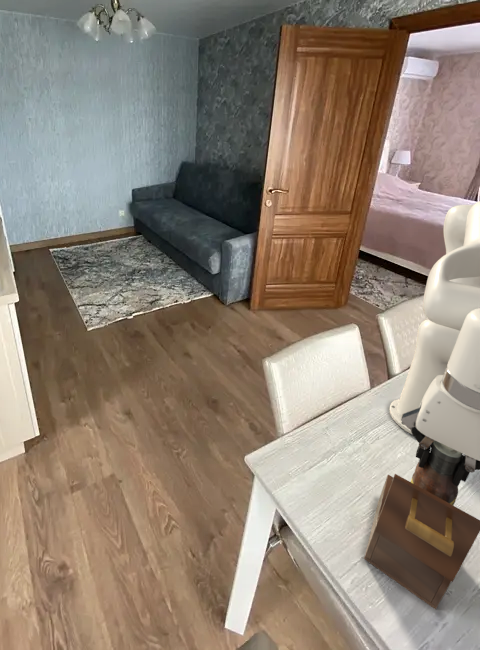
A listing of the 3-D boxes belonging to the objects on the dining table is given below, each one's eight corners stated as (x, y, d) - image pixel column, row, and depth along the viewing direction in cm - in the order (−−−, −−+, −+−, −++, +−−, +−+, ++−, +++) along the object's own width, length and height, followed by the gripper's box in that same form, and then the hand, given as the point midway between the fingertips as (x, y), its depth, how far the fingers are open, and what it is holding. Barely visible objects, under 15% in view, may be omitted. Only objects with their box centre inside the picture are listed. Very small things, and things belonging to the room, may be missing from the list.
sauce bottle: (446, 549, 60) (483, 471, 53) (407, 541, 61) (438, 464, 54) (429, 510, 66) (460, 435, 59) (393, 503, 67) (419, 428, 60)
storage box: (378, 501, 75) (388, 474, 72) (441, 539, 69) (455, 511, 65) (363, 559, 66) (374, 530, 62) (435, 609, 59) (451, 581, 56)
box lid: (394, 473, 57) (388, 504, 53) (482, 521, 51) (483, 561, 46) (375, 527, 62) (367, 559, 58) (452, 577, 56) (451, 618, 51)
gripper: (548, 400, 49) (502, 484, 56) (411, 351, 59) (386, 428, 66) (557, 436, 44) (504, 524, 51) (405, 375, 54) (378, 456, 61)
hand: (438, 469), depth 58 cm, fingers closed on sauce bottle, 4 cm apart
